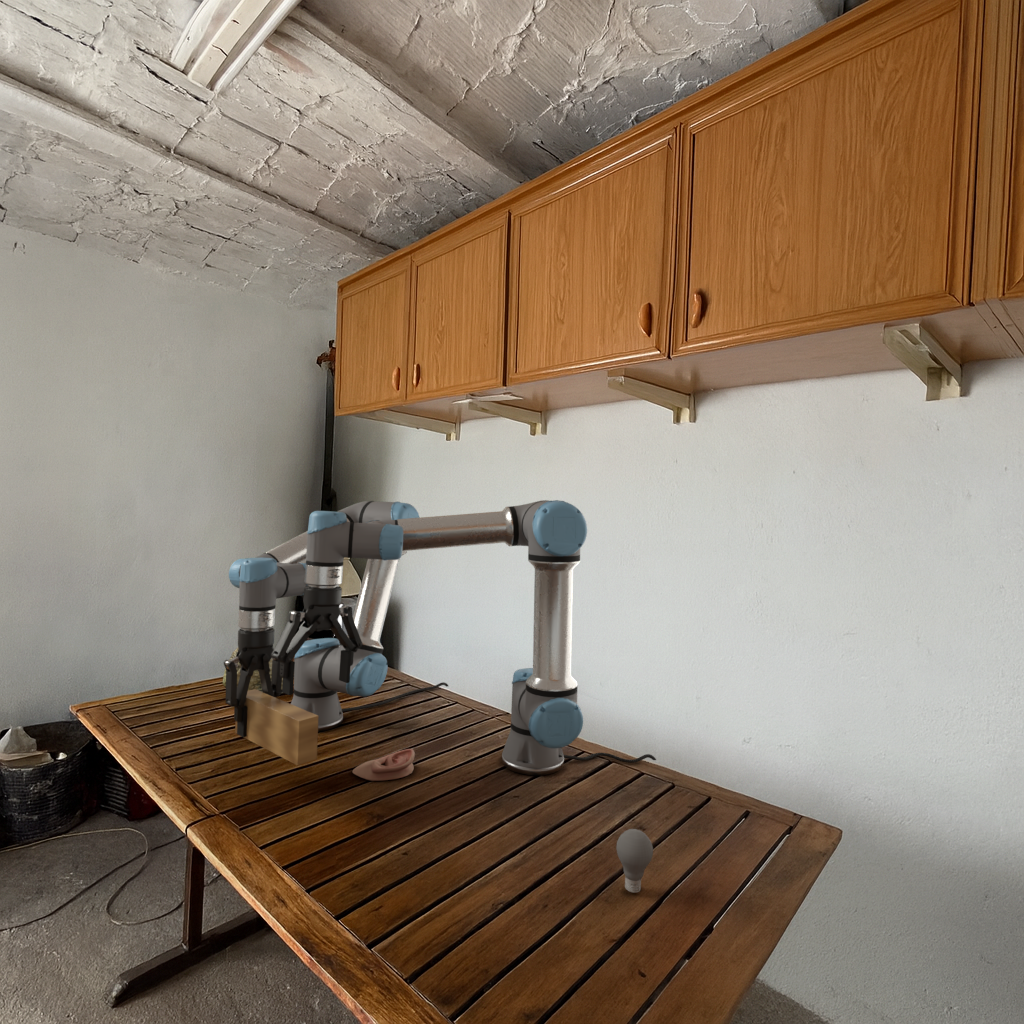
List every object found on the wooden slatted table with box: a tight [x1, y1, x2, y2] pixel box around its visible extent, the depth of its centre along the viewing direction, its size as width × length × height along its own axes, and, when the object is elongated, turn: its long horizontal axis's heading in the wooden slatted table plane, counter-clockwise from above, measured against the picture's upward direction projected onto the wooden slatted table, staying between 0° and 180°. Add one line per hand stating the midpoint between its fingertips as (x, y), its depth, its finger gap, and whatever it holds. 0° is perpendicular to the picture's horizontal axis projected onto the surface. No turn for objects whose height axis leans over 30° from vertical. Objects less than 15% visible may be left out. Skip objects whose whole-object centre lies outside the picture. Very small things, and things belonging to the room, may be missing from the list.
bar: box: [234, 689, 319, 766], centre depth 135 cm, size 25×4×9 cm, turn 51°
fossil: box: [222, 647, 284, 694], centre depth 198 cm, size 9×18×15 cm, turn 132°
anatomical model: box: [352, 748, 416, 782], centre depth 147 cm, size 13×4×12 cm
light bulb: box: [615, 828, 654, 894], centre depth 106 cm, size 6×6×10 cm
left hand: (252, 731), depth 141 cm, fingers closed on bar, 4 cm apart
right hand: (316, 687), depth 132 cm, fingers open, 13 cm apart
